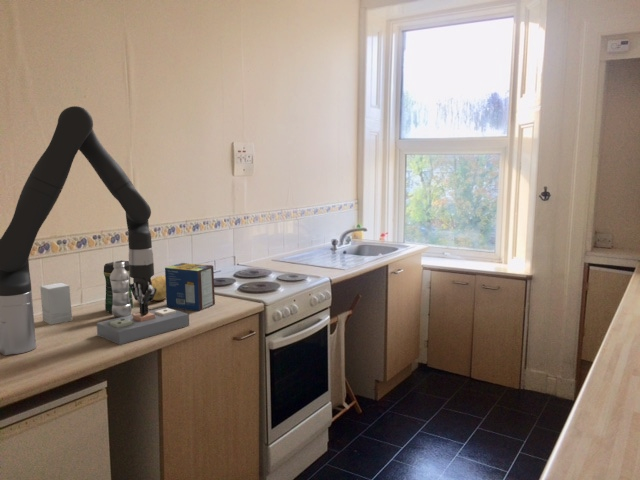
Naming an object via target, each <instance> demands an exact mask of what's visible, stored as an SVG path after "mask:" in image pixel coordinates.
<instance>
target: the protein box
mask: <svg viewBox="0 0 640 480" xmlns="http://www.w3.org/2000/svg"><path fill="white" fill-rule="evenodd" d="M164 274H165V275H164V276H165V279H166V297H165V302H166V307H167V308H171V309H182V310H190V311H195V312H200V311H202V310H205V309H207V308H209V307H211V306H214V305H216V304H215V303H216V299H215V297H216V296H215V295H216V294H215V277H214V275H215V274H214V265H212V264H199V263H198V264H197V263H185V262H181V263H177V264H174V265H169V266H165V267H164Z"/></svg>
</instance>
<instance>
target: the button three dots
mask: <svg viewBox="0 0 640 480" xmlns="http://www.w3.org/2000/svg"><path fill="white" fill-rule="evenodd" d="M137 313H138V314H137ZM137 313H134V315H133V314H132V315H133V319H134V320H137V321H139V322H143V321H147V320H151V319H155V314H153V313H150V312H148V314H145V315H142V314H140V312H137Z"/></svg>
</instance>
